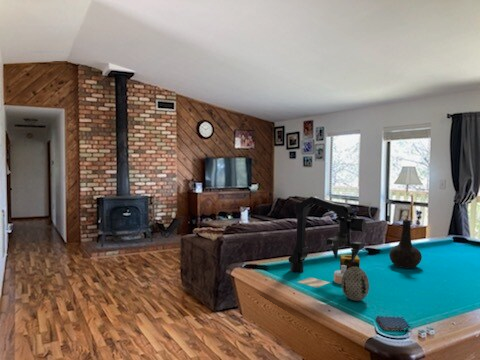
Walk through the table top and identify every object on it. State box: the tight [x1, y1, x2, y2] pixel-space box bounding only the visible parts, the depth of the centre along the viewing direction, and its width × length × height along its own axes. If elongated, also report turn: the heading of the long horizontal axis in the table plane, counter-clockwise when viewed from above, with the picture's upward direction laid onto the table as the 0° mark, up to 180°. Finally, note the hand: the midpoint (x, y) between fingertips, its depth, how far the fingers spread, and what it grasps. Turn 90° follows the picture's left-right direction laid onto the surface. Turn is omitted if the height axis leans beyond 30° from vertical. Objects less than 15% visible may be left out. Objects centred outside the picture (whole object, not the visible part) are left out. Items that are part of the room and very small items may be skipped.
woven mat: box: [375, 315, 412, 331], centre depth 142 cm, size 10×11×2 cm
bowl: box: [333, 273, 342, 285], centre depth 192 cm, size 9×9×4 cm
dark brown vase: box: [389, 219, 423, 269], centre depth 227 cm, size 18×18×28 cm
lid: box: [333, 265, 347, 277], centre depth 192 cm, size 9×9×4 cm
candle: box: [339, 254, 361, 270], centre depth 208 cm, size 10×10×10 cm
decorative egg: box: [341, 266, 370, 302], centre depth 168 cm, size 12×12×15 cm
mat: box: [297, 277, 331, 289], centre depth 191 cm, size 12×12×1 cm
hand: (344, 260), depth 191 cm, fingers open, 9 cm apart
